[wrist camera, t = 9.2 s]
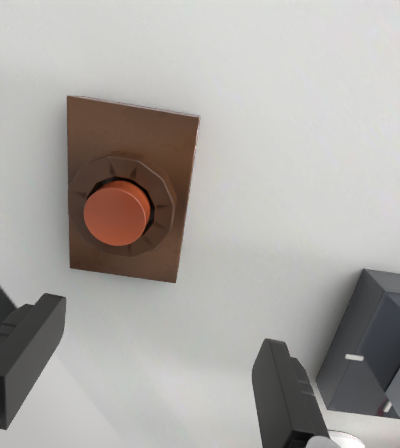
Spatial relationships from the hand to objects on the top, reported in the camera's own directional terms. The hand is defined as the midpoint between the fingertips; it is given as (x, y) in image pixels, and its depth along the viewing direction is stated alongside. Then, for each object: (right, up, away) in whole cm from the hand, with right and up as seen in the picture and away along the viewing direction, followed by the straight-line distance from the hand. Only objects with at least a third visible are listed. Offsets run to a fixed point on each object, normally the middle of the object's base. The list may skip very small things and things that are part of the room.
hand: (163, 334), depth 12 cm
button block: (-3, +7, +10) cm, 13 cm away
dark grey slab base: (+19, -6, +15) cm, 25 cm away
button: (-3, +5, +7) cm, 9 cm away
